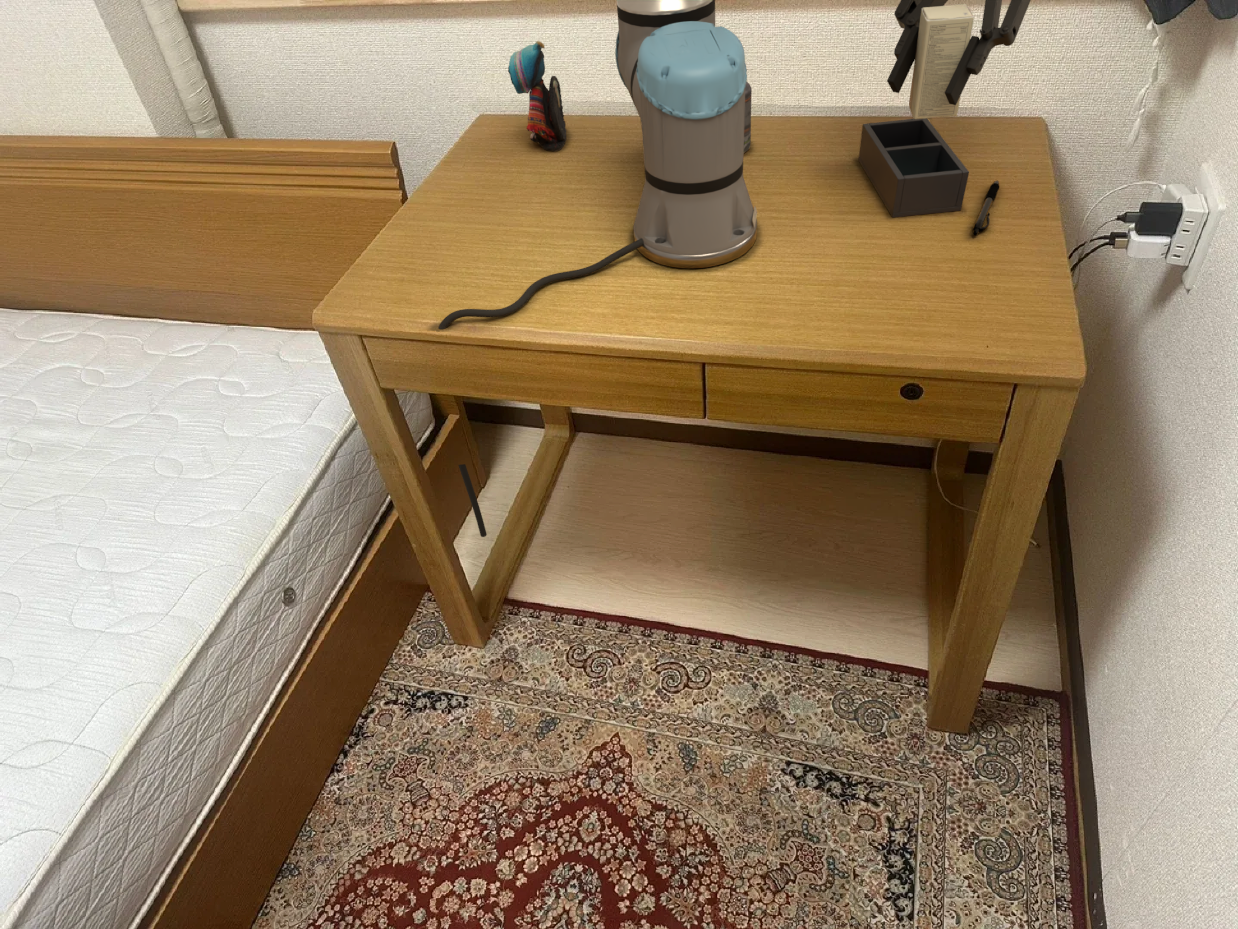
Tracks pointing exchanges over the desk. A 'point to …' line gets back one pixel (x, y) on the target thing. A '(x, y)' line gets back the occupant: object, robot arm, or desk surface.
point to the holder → (912, 167)
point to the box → (938, 58)
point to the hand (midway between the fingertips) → (921, 92)
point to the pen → (986, 209)
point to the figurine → (539, 97)
